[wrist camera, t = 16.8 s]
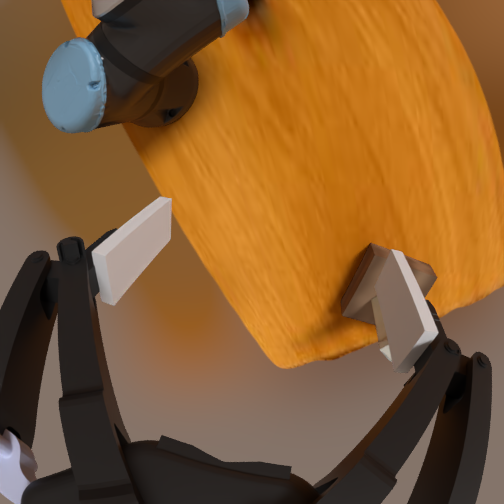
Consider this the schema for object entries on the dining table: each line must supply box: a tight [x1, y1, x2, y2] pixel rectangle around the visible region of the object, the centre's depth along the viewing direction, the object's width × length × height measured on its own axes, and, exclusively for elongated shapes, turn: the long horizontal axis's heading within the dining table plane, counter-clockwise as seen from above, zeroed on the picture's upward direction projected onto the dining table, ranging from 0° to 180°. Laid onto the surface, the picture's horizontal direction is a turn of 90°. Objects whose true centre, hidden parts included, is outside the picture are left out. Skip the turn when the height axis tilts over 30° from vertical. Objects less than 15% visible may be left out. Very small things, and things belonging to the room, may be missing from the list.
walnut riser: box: [341, 243, 437, 325], centre depth 49 cm, size 14×14×5 cm
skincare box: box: [371, 296, 392, 361], centre depth 42 cm, size 6×4×12 cm
